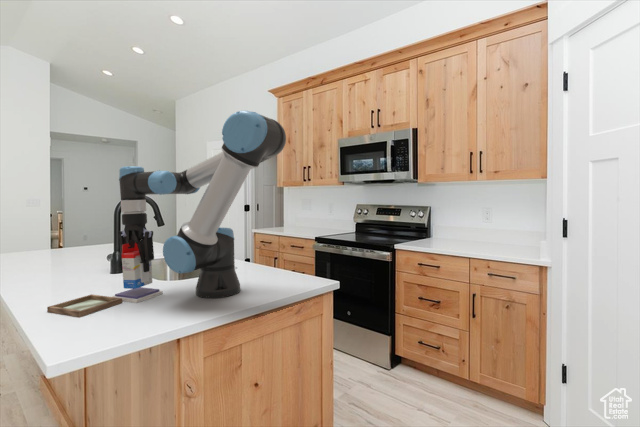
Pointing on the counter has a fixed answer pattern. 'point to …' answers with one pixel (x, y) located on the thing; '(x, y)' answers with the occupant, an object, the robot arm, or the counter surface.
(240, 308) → the counter surface
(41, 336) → the counter surface
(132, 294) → the ink pad
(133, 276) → the ink box
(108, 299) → the frame
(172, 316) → the counter surface
